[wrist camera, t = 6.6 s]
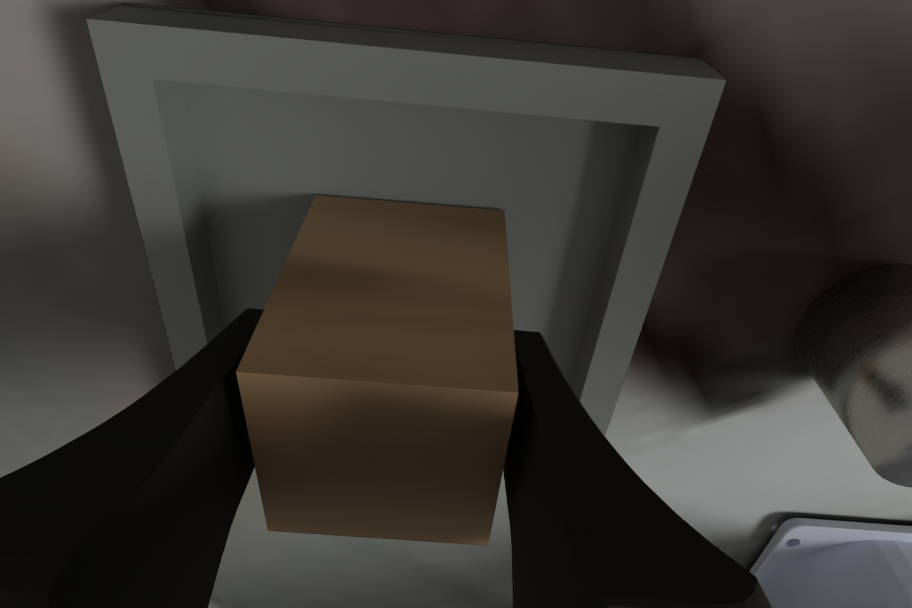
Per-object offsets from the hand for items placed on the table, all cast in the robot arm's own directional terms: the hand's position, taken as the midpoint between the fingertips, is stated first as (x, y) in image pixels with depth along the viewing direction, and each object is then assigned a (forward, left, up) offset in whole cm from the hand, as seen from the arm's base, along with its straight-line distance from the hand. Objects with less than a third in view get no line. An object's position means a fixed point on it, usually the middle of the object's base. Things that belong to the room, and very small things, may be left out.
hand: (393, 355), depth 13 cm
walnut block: (0, 0, -3) cm, 3 cm away
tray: (0, 0, -3) cm, 3 cm away
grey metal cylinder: (0, -13, -3) cm, 13 cm away
